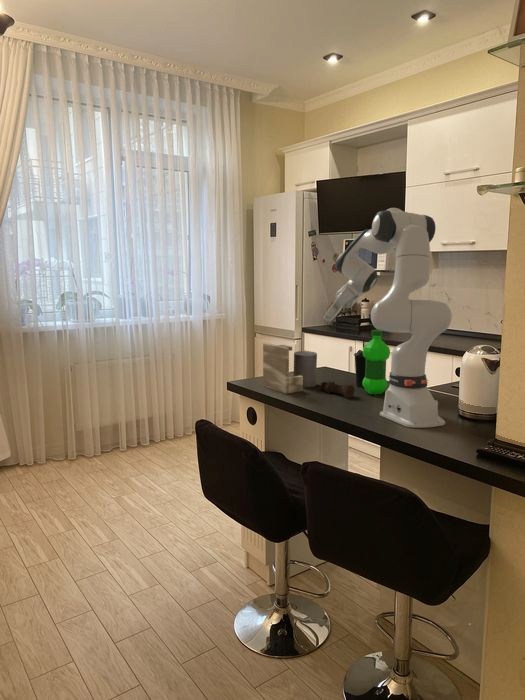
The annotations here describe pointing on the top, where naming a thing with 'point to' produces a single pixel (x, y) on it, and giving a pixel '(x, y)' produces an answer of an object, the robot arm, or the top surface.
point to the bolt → (338, 388)
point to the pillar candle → (306, 367)
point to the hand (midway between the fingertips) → (326, 317)
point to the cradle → (279, 369)
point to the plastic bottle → (375, 364)
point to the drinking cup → (360, 367)
